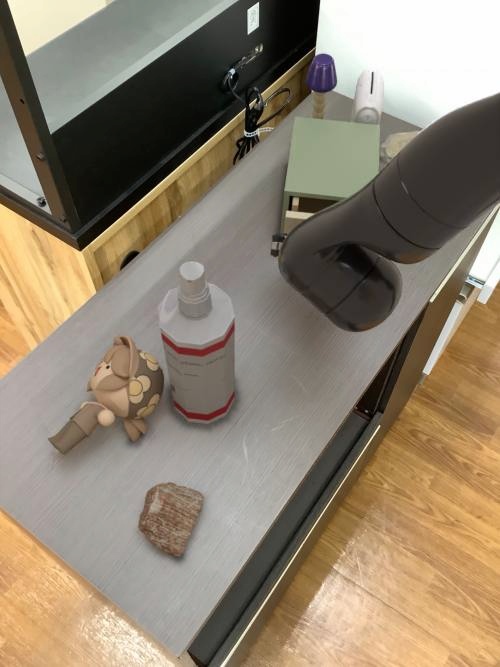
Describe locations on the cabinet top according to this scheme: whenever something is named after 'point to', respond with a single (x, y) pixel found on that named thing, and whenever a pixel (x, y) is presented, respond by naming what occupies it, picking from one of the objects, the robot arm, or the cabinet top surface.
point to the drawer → (304, 210)
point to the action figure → (116, 395)
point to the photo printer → (368, 98)
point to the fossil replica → (393, 147)
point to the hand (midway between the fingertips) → (324, 246)
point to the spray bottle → (199, 346)
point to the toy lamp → (321, 81)
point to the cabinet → (330, 160)
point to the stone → (170, 516)
